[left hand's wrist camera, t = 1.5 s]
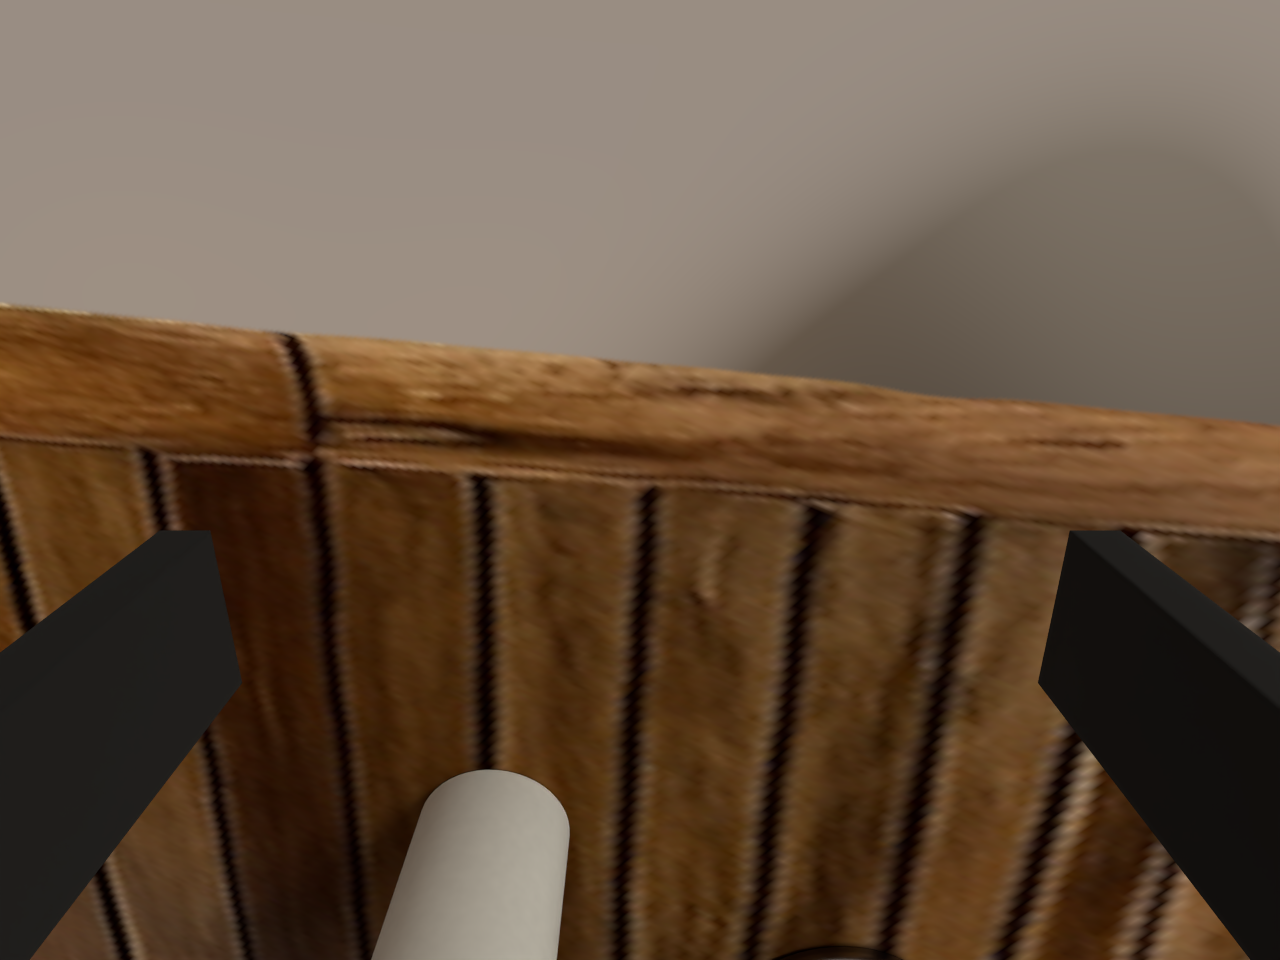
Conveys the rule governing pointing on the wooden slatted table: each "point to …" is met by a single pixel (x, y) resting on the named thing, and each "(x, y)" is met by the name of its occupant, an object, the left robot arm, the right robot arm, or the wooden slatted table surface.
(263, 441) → the wooden slatted table surface
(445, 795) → the jar
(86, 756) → the left robot arm
